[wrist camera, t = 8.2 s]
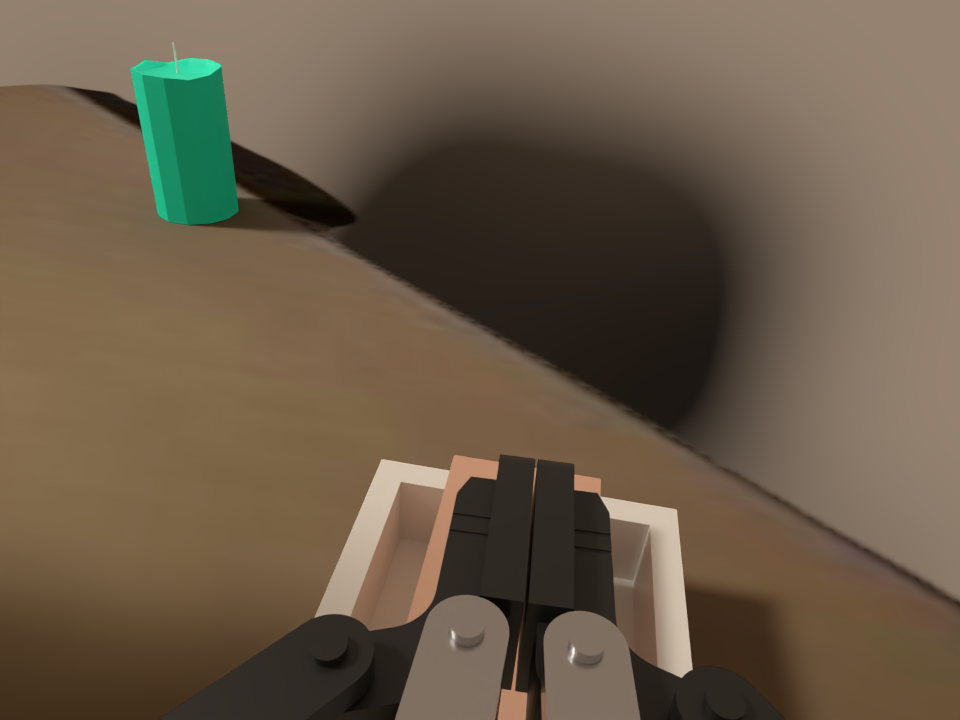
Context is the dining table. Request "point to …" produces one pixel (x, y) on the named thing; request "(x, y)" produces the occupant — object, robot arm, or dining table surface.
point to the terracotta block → (460, 472)
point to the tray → (406, 535)
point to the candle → (187, 139)
